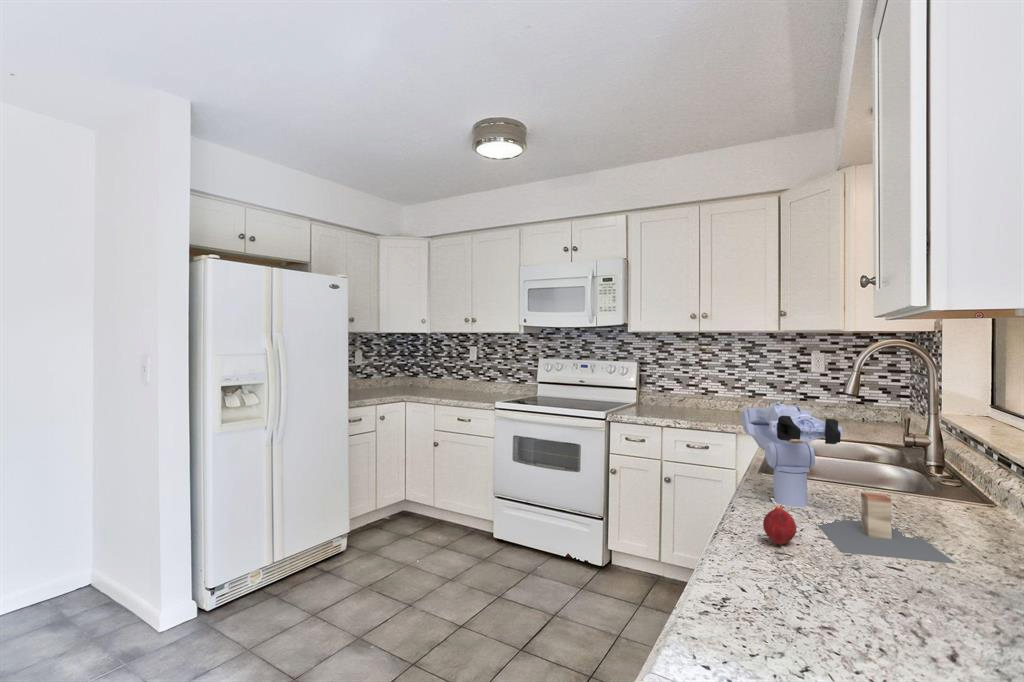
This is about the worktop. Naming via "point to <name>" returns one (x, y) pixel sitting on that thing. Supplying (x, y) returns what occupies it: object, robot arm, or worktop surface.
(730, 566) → the worktop surface
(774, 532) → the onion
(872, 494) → the block
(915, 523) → the worktop surface
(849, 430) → the worktop surface
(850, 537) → the mat
